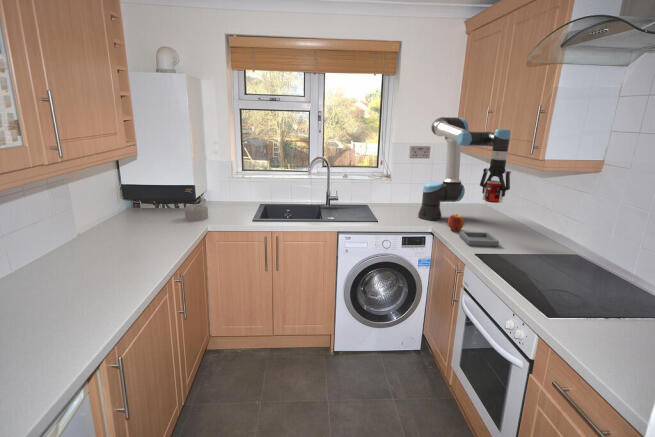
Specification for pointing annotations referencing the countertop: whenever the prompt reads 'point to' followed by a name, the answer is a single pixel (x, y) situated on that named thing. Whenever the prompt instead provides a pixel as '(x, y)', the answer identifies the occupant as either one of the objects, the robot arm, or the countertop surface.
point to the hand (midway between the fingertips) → (492, 200)
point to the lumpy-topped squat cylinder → (196, 213)
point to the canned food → (493, 191)
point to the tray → (478, 239)
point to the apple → (456, 222)
